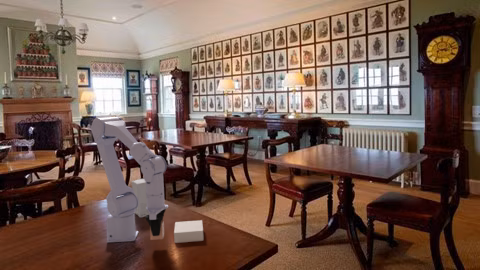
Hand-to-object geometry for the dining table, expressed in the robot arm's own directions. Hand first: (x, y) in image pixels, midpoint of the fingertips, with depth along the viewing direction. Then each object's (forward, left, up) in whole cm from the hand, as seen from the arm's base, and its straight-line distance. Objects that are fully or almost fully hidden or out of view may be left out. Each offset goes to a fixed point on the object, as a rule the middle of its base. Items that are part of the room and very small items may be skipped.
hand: (157, 232), depth 114 cm
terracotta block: (0, 0, -2) cm, 2 cm away
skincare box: (-11, +34, -5) cm, 36 cm away
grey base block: (+10, +8, -6) cm, 14 cm away
